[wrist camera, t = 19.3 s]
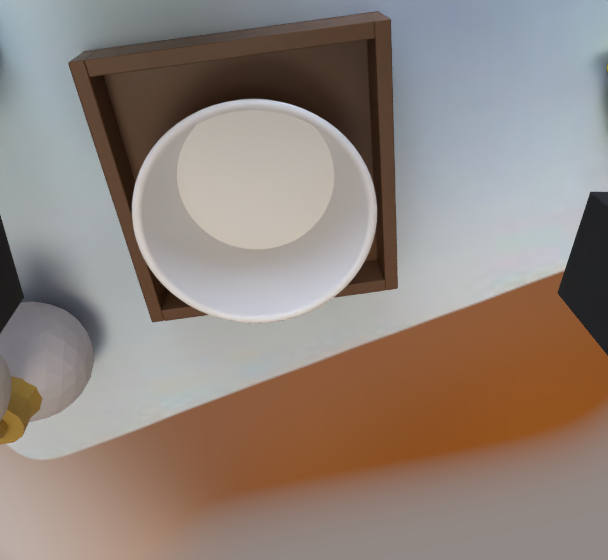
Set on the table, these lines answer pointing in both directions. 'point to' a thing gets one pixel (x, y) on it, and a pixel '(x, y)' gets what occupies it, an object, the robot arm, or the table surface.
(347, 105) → the tray
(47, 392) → the perfume bottle
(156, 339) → the table surface
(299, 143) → the food container
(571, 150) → the table surface
